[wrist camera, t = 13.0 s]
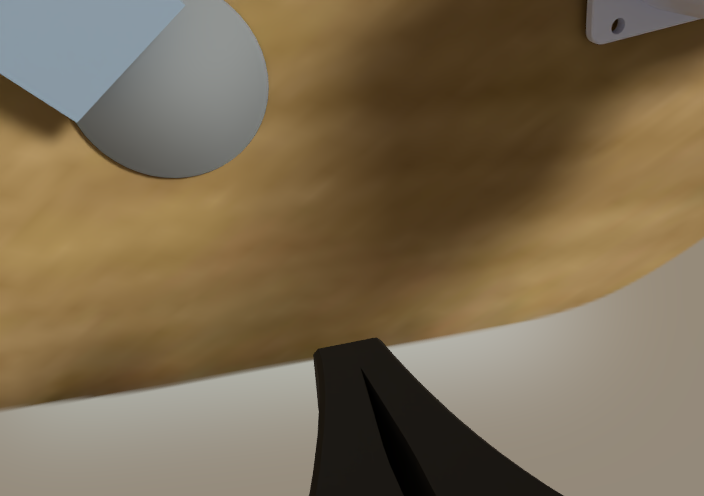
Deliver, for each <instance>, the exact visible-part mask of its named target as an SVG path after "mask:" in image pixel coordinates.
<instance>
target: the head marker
mask: <svg viewBox="0 0 704 496" xmlns="http://www.w3.org/2000/svg"><path fill="white" fill-rule="evenodd" d="M182 1H183V2H184V4H185V6H184V8H183V9H182V10H181V11H180V12H179V13H178V14H177V15H176V16H175V17H174V18H173V19H172V21H171V22H170V23H169V24H168V25H167V26H166V27H165V28H164V29H163V30H162V31H161V32H160V34H159V35H158V36H157V37H156V38H155V39H154V40H153V41H152V42H151V43H150V44H149V45H148V47H147V48H146V49H145V50H144V51H143V52H142V53H141V54H140V55H139V56H138V57H137V58H136V60H135V61H134V62H133V63H132V64H131V65H130V66H129V67H128V68H127V69H126V70H125V71H124V73H123V74H122V75H121V76H120V77H119V78H118V79H117V80H116V81H115V82H114V83H113V84H112V86H111V87H110V88H109V89H108V90H107V91H106V92H105V93H104V94H103V95H102V96H101V97H100V99H99V100H98V101H97V102H96V103H95V104H94V105H93V106H92V107H91V108H90V109H89V110H88V112H87V113H86V114H85V115H84V116H83V117H82V118H81V119H80V120H79V121H78V122H77V123H76V124H77V125H78V126H79V128H80V129H81V131H82V132H83V133H84V135H85V136H86V137H87V138H88V139H89V140H90V141H91V142H92V144H93V145H95V146H96V147H97V148H98V149H99V150H100V151H101V152H103V153H104V154H105V155H107V156H108V157H110V158H111V159H113V160H114V161H116V162H118V163H119V164H121V165H123V166H125V167H127V168H130V169H132V170H135V171H137V172H140V173H144V174H148V175H151V176H158V177H166V178H181V177H191V176H196V175H201V174H204V173H207V172H210V171H213V170H215V169H217V168H219V167H221V166H223V165H224V164H226V163H228V162H229V161H231V160H232V159H234V158H235V157H236V156H237V155H238V154H239V153H241V152H242V151H243V150H244V148H245V147H246V146H247V145H248V144H249V143H250V141H251V140H252V139H253V137H254V136H255V134H256V132H257V131H258V129H259V127H260V125H261V122H262V120H263V117H264V114H265V110H266V106H267V101H268V89H269V87H268V74H267V68H266V63H265V60H264V57H263V54H262V50H261V48H260V46H259V44H258V42H257V40H256V38H255V36H254V34H253V33H252V31H251V29H250V28H249V26H248V25H247V24H246V22H245V21H244V20H243V19H242V17H241V16H240V15H239V14H238V13H237V12H236V11H235V10H234V9H233V8H232V7H231V6H230V5H229V4H228V3H226V2H225V1H224V0H182Z"/></svg>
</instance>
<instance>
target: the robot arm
mask: <svg viewBox="0 0 704 496" xmlns="http://www.w3.org/2000/svg"><path fill="white" fill-rule="evenodd" d="M616 19H618V24H617V27H616V28H615V30H614V31H612V30H611V27H612V24H613V22H614V21H615V20H616ZM699 19H704V0H587V18H586V36H587V38H588V39H589V41H591V42H593V43H596V44H606V43H610V42H614V41H617V40H621V39H625V38H629V37H633V36H637V35H641V34H644V33H648V32H652V31H656V30H660V29H664V28H668V27H672V26H675V25H679V24H683V23H687V22H691V21H695V20H699ZM313 357H314V367H315V377H316V386H317V387H316V388H317V398H318V408H319V420H318V438H317V445H316V453H315V461H314V470H313V477H312V483H311V489H310V494H309V496H563V495H562V494H560V493H558V492H557V491H555V490H553V489H552V488H550V487H549V486H547V485H545V484H544V483H542V482H541V481H540V480H538V479H537V478H535V477H534V476H532V475H531V474H529V473H528V472H526V471H525V470H523V469H522V468H521V467H519V466H518V465H516V464H515V463H514V462H512V461H511V460H510V459H508V458H507V457H505V456H504V455H502V454H501V453H500V452H498V451H497V450H496V449H495V448H493V447H492V446H491V445H490V444H488V443H487V442H486V441H485V440H483V439H482V438H481V437H480V436H478V435H477V434H476V433H475V432H474V431H472V430H471V429H470V428H469V427H468V426H466V425H465V424H464V423H463V422H462V421H461V420H459V419H458V418H457V417H456V416H455V415H454V414H452V412H450V411H449V410H448V409H447V408H446V407H445V406H444V405H443V404H442V403H441V402H439V400H438V399H436V398H435V397H434V396H433V395H432V394H431V393H430V392H429V391H428V390H427V389H426V388H425V387H424V386H423V385H422V384H421V383H420V382H419V381H418V380H417V379H416V378H415V377H414V376H413V375H412V374H411V373H410V372H409V371H408V370H407V369H406V368H405V367H404V366H403V365H402V363H401V362H400V361H399V360H398V359H397V358H396V357H395V356H394V355H393V354H392V352H390V350H389V349H388V348H387V347H386V346H385V344H384V343H383V342H382V341H381V340H379V339H378V338H377V337H376V338H371V339H366V340H361V341H356V342H351V343H346V344H341V345H335V346H330V347H325V348H320V349H318V350H317V351H316V352H315V353H314V354H313Z"/></svg>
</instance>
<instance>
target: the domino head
mask: <svg viewBox="0 0 704 496" xmlns="http://www.w3.org/2000/svg"><path fill="white" fill-rule="evenodd" d="M184 6H185V4H184V2H183V1H182V0H0V74H2V75H3V76H5V77H6V78H8V79H9V80H11V81H12V82H14V83H16V84H17V85H19V86H20V87H22V88H23V89H25V90H26V91H28V92H30V93H31V94H33V95H34V96H36V97H37V98H39V99H41V100H42V101H44V102H45V103H47V104H48V105H50V106H51V107H53V108H55V109H56V110H58V111H59V112H61V113H62V114H64V115H66V116H67V117H69V118H70V119H72V120H73V121H75V122H76V123H77V122H78V121H79V120H80V119H81V118H82V117H83V116H84V115H85V114H86V113H87V112H88V110H89V109H90V108H91V107H92V106H93V105H94V104H95V103H96V102H97V101H98V100H99V99H100V97H101V96H102V95H103V94H104V93H105V92H106V91H107V90H108V89H109V88H110V87H111V86H112V84H113V83H114V82H115V81H116V80H117V79H118V78H119V77H120V76H121V75H122V74H123V73H124V71H125V70H126V69H127V68H128V67H129V66H130V65H131V64H132V63H133V62H134V61H135V60H136V58H137V57H138V56H139V55H140V54H141V53H142V52H143V51H144V50H145V49H146V48H147V47H148V45H149V44H150V43H151V42H152V41H153V40H154V39H155V38H156V37H157V36H158V35H159V34H160V32H161V31H162V30H163V29H164V28H165V27H166V26H167V25H168V24H169V23H170V22H171V21H172V19H173V18H174V17H175V16H176V15H177V14H178V13H179V12H180V11H181V10H182V9H183V8H184Z"/></svg>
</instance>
